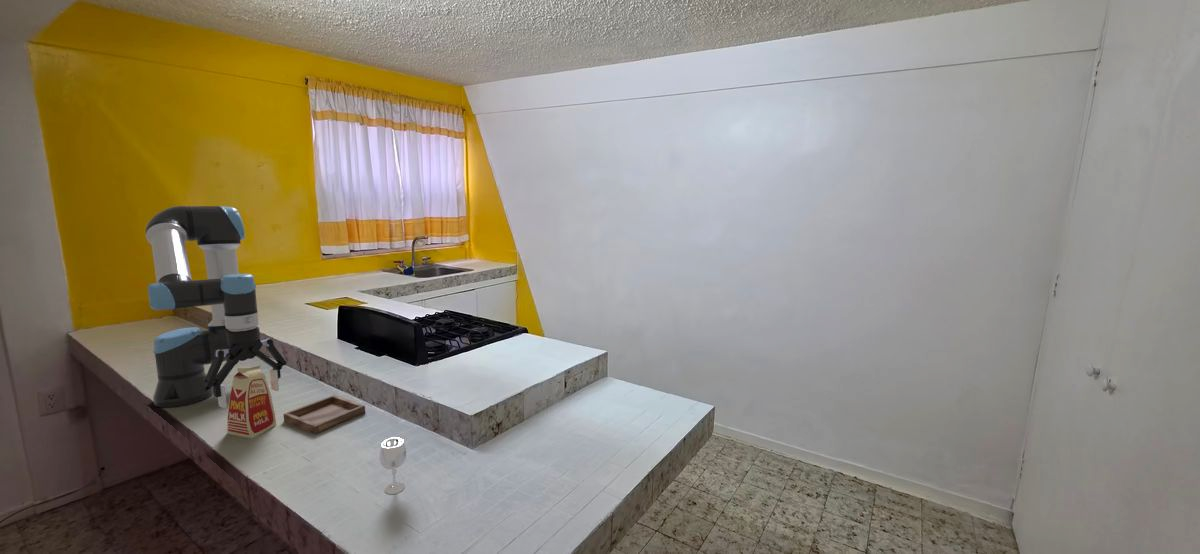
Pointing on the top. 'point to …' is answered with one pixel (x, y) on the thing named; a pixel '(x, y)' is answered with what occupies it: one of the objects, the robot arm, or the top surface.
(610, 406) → the top surface
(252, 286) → the robot arm
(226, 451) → the top surface
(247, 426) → the milk carton
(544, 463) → the top surface
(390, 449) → the wineglass
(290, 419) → the tray
